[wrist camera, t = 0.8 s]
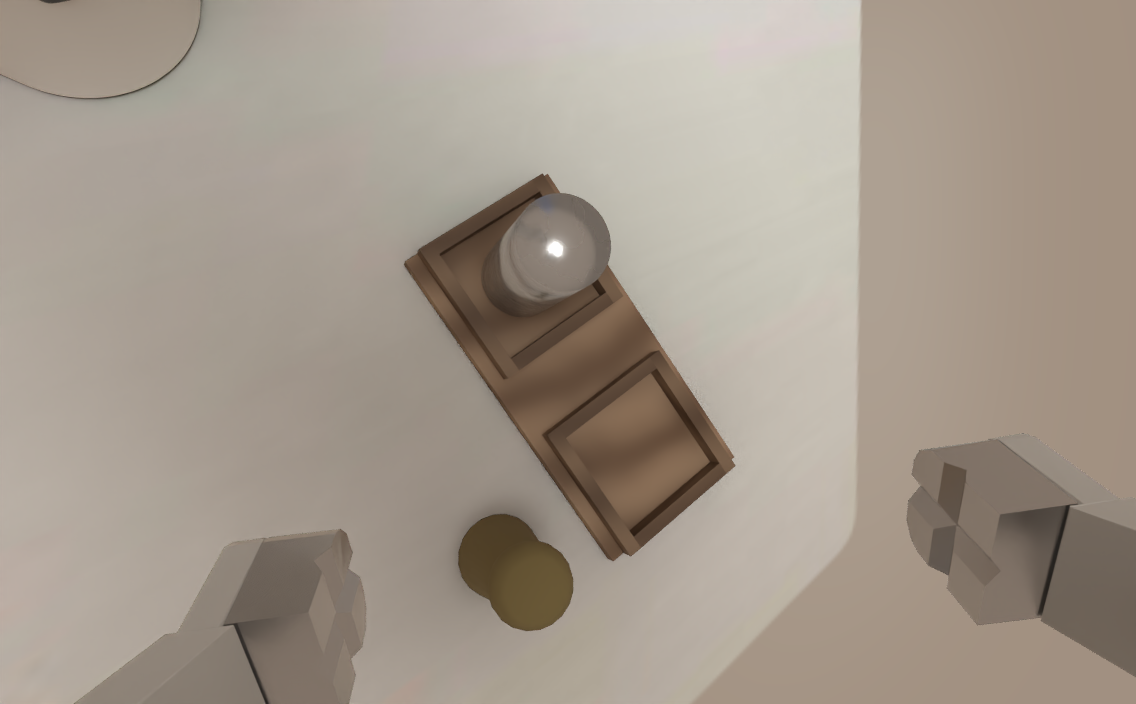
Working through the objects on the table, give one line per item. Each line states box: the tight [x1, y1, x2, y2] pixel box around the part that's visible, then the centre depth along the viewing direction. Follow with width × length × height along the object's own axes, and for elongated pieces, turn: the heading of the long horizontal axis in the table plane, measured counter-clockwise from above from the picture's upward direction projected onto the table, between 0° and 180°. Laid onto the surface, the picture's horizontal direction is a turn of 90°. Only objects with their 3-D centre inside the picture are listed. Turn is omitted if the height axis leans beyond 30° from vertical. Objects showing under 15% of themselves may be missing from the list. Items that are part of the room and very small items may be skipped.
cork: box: [458, 514, 573, 631], centre depth 45 cm, size 6×6×11 cm
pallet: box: [404, 174, 735, 561], centre depth 52 cm, size 27×13×3 cm, turn 35°
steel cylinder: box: [481, 193, 611, 317], centre depth 46 cm, size 6×6×11 cm
